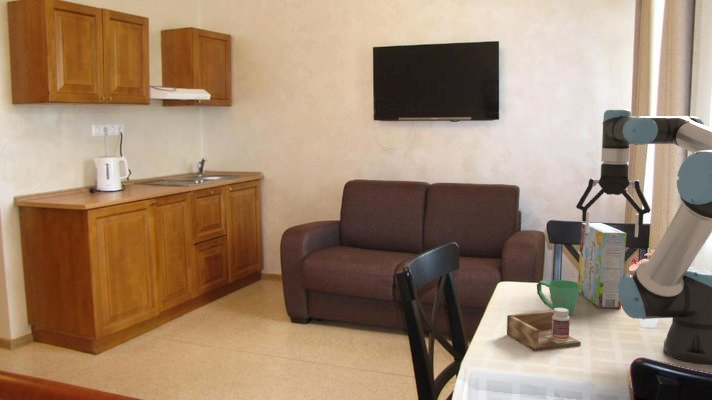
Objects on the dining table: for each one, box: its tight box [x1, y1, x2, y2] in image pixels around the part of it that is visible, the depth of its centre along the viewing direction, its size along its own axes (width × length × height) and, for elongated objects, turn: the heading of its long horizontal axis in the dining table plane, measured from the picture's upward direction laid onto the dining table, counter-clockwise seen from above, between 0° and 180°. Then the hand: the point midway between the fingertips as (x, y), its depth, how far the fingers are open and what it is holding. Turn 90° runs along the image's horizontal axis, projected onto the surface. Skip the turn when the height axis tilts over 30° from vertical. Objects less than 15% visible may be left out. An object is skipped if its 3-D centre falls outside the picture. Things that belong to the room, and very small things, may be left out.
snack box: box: [577, 222, 627, 309], centre depth 222 cm, size 22×9×26 cm, turn 179°
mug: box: [536, 279, 581, 317], centre depth 208 cm, size 15×10×10 cm
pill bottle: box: [551, 308, 571, 341], centre depth 180 cm, size 5×5×8 cm
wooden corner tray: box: [506, 309, 581, 353], centre depth 182 cm, size 14×15×6 cm
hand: (611, 234), depth 189 cm, fingers open, 13 cm apart
